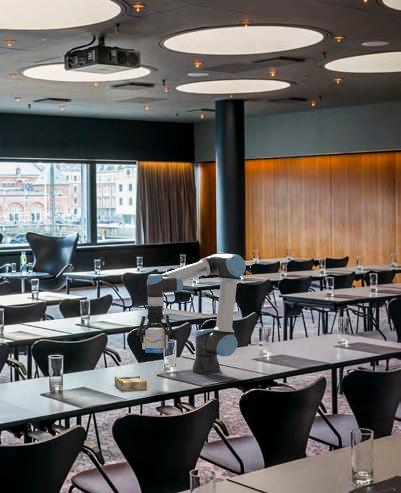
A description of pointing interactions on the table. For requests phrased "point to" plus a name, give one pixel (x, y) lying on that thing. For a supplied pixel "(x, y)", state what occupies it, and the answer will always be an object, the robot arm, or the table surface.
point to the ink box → (155, 340)
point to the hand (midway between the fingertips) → (155, 348)
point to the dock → (130, 383)
